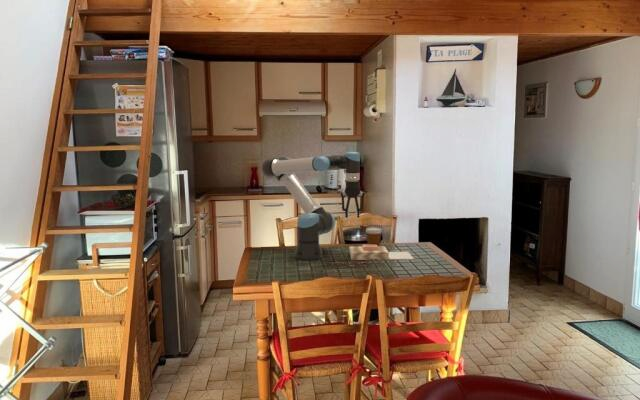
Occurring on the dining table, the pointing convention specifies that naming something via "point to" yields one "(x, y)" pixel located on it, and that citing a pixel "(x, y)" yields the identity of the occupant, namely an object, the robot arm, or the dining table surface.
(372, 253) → the birch board
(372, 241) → the disposable coffee cup
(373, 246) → the pink flat piece
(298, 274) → the dining table surface
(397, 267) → the dining table surface
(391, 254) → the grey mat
